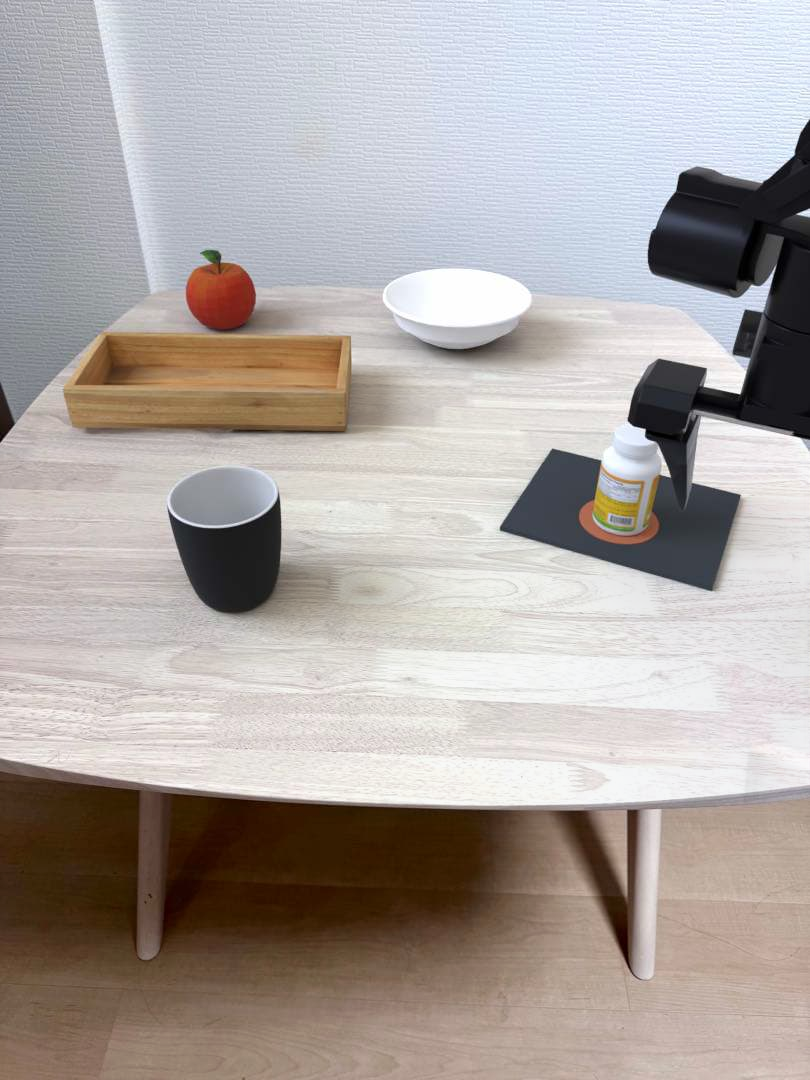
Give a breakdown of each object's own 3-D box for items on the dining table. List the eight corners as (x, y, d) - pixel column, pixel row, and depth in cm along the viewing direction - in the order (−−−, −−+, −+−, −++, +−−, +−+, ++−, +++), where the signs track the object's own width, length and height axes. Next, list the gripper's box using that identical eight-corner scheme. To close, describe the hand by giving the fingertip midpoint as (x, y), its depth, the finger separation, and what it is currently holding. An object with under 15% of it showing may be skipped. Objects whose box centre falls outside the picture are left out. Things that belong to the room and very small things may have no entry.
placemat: (739, 498, 86) (741, 493, 86) (711, 591, 75) (713, 586, 74) (551, 451, 93) (552, 447, 93) (499, 530, 82) (500, 525, 81)
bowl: (397, 378, 107) (397, 330, 103) (371, 316, 122) (371, 272, 118) (547, 365, 110) (553, 318, 106) (504, 306, 125) (507, 263, 121)
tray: (352, 373, 108) (350, 331, 104) (346, 434, 96) (345, 389, 92) (109, 373, 107) (100, 330, 104) (73, 434, 95) (61, 388, 92)
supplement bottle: (625, 499, 85) (643, 414, 79) (660, 529, 81) (681, 441, 75) (580, 512, 83) (595, 425, 77) (613, 543, 79) (631, 454, 73)
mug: (309, 588, 75) (301, 493, 68) (227, 640, 69) (210, 542, 63) (226, 531, 81) (212, 440, 75) (145, 574, 76) (123, 480, 70)
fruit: (213, 344, 114) (203, 271, 108) (178, 322, 120) (166, 252, 114) (272, 326, 119) (266, 255, 113) (236, 305, 125) (228, 237, 119)
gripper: (981, 298, 54) (892, 500, 63) (684, 252, 60) (644, 441, 70) (991, 369, 46) (888, 587, 55) (647, 307, 52) (608, 512, 62)
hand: (747, 524), depth 61 cm, fingers open, 9 cm apart
